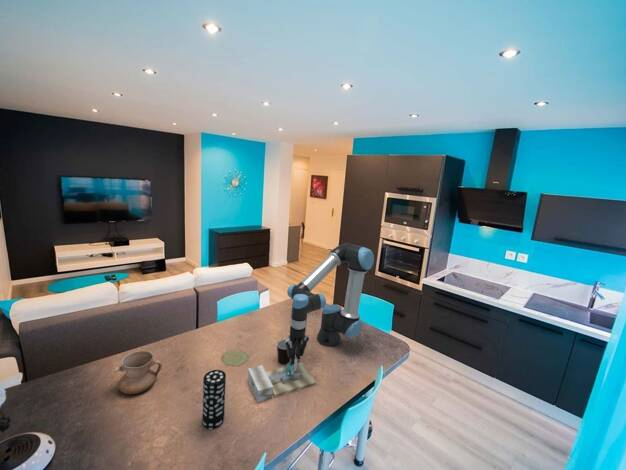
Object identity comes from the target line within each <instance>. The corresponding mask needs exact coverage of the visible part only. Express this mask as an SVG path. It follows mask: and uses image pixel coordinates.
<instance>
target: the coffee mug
mask: <svg viewBox="0 0 626 470" xmlns="http://www.w3.org/2000/svg"><path fill="white" fill-rule="evenodd" d="M284 340H285V339H282V340H279V341H278V342H277V343H276V349H277V352H276V353H277V363H278V364H279V363H280V364H279V365H285V364H286V365H287V363H290V362H291V359H290V358H289V357H288V355H287V349H286V344H285V342H284ZM289 345H290V349H292V342H291V341H290V344H289Z"/></svg>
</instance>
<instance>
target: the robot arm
mask: <svg viewBox="0 0 626 470" xmlns="http://www.w3.org/2000/svg"><path fill="white" fill-rule="evenodd" d="M374 262H375V256H374V252H373V251H372V250H371V249H369V248H367V247H366V246H365V247H364V246H361V245H357V244H353V243H349V242H348V243H347V242H346V243H343V244H340V245H338V246H336V247H335V248H333V249H331V250H330V251H329V252H328V253H327V256H326V258H324V259H323V260H322V261H321V262H320V263H319V264H318V265H316V267H315V268H314V269H313V270H312V271H310V272H309V273H308V275H306V277H304V278H303V279H302V280H301V281H300V282H299V283H298V284H291V285H290V286H289V287H288V289H287V292H286V293H287V296H288V297H289V298H290V299H292V302H291V314H290V315H291V316H290V327H289V335H288V338H287V339H283V340H284V342H285V344H286V349H287V355H288V357H289V358H290V363H291V364H292V369H293V371H296V370H297V364H299V363H300V359H301V357H303V356H304V354H305V351H306V348H307V347H306V346H307V345H308V344H307V343H308V342H309V340H310V337H308V335H306V331H307V330H306V329H307V328H306V327H307V319H308V318H307V317H308V314H309V313H312V312H315V311H318V310H319V311H320V309H322V312H321V323H320V329H319V331H318V333H317V335H316V340H317V341H316V342H318V343H319V344H320V345H322V346H325V347H330V348H332V347H337V346H339V345H340V344H341V339H342V338H341V334H342V335H344V336H345V337H347V338H350V339H355V338H357V337H358V336H359V334H360V333H361V331H362V329H363V326H364V325H363V322H362V320H361V319H360V318H361V314H360V313H359V309H360V308H359V307H360V304H361V303H360V302H361V297H362V291H363V285H364V280H365V274H366V273H368V271H369V270H371V269H372V267H373V265H374ZM344 263H346V264H348V265H347V269H348V270H349V274H348V281H347V287H346V293H345V298H344V299H345V300H344V306H343V309H342V307H341V306H340V305H338V304H327V298H326V297H325V295H324V294H323V293H321V292H320V293H313V292H312V291H313V289H315V288H316V287H317V285H319V284H320V283H321V282H322V280H324V279H325V278H326V277H327V276H328V275H329V274H330V273H331V272H332V271H333V270H334V269H335V268H336V267H338V266H341V264H344ZM290 342H292V349H290V345H289V344H290Z"/></svg>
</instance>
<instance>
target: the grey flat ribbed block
mask: <svg viewBox="0 0 626 470" xmlns="http://www.w3.org/2000/svg"><path fill="white" fill-rule="evenodd" d="M286 369H287V366H284V367H281V368H275V369H273V370H269V371H266V370H265V368H264V366H263V365H257V366H254V367H248V369H247V382H248V383H249V386H250V388H251V391H252V393H253V395H254V398H255V400H256V402H257V403H261V402H264V401H268V400H271V399H273V397H274V398H278V397H281V396H283V395H287V394H291V393H294V392H297V391H300V390H303V389H307V388H309V387H313V386H316V385H317V381H316V379H315V378H314V376H313V375H312V374H311V372H310V371H309V370H308V368H307V367H306V366H305V364H304V363H303V362H299V363H297V370H296V371H294V373H295V374H294V375H291V376H287V377H284V378H282V381H281V382H277V383H274V384H272V383H271V381H270V379H269V378H268V377H269V376H273V375H277V374H281V373H284V372H286ZM292 370H293V369H292V367H291V371H292Z"/></svg>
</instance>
